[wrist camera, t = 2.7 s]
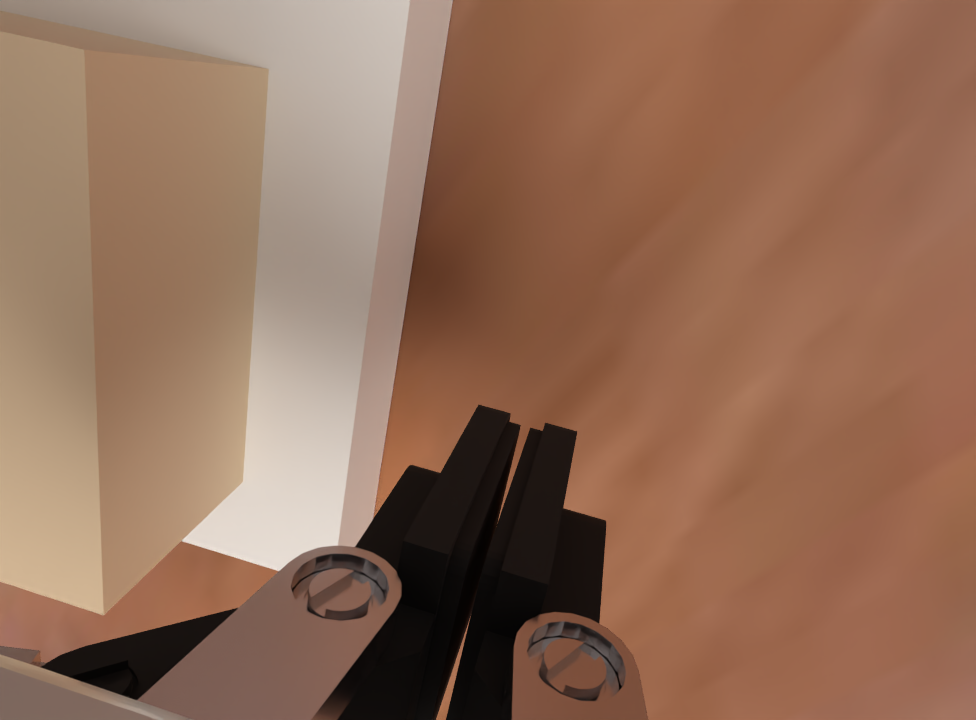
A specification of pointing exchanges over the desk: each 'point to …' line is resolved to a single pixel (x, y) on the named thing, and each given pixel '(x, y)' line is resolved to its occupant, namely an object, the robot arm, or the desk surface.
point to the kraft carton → (120, 300)
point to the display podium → (313, 241)
